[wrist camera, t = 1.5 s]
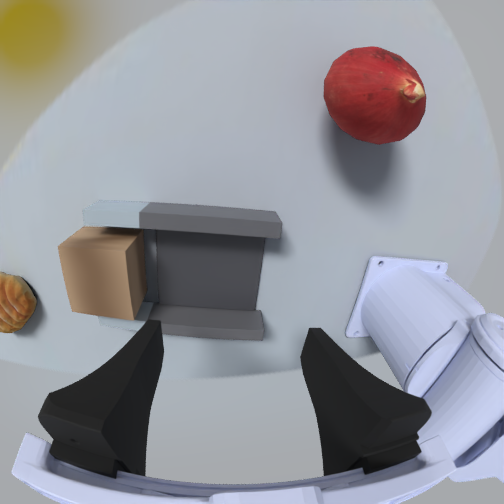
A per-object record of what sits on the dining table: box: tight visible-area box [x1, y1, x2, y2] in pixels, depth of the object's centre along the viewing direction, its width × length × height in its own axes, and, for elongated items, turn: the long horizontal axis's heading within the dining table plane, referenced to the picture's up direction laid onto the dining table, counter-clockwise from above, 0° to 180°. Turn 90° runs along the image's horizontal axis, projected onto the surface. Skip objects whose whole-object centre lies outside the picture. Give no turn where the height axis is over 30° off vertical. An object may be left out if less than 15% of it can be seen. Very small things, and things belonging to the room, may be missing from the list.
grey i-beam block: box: [83, 201, 282, 341], centre depth 18 cm, size 12×9×2 cm
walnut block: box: [58, 227, 147, 321], centre depth 17 cm, size 5×5×4 cm
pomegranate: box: [324, 47, 426, 145], centre depth 12 cm, size 6×6×8 cm
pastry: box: [0, 272, 37, 333], centre depth 18 cm, size 9×7×4 cm
